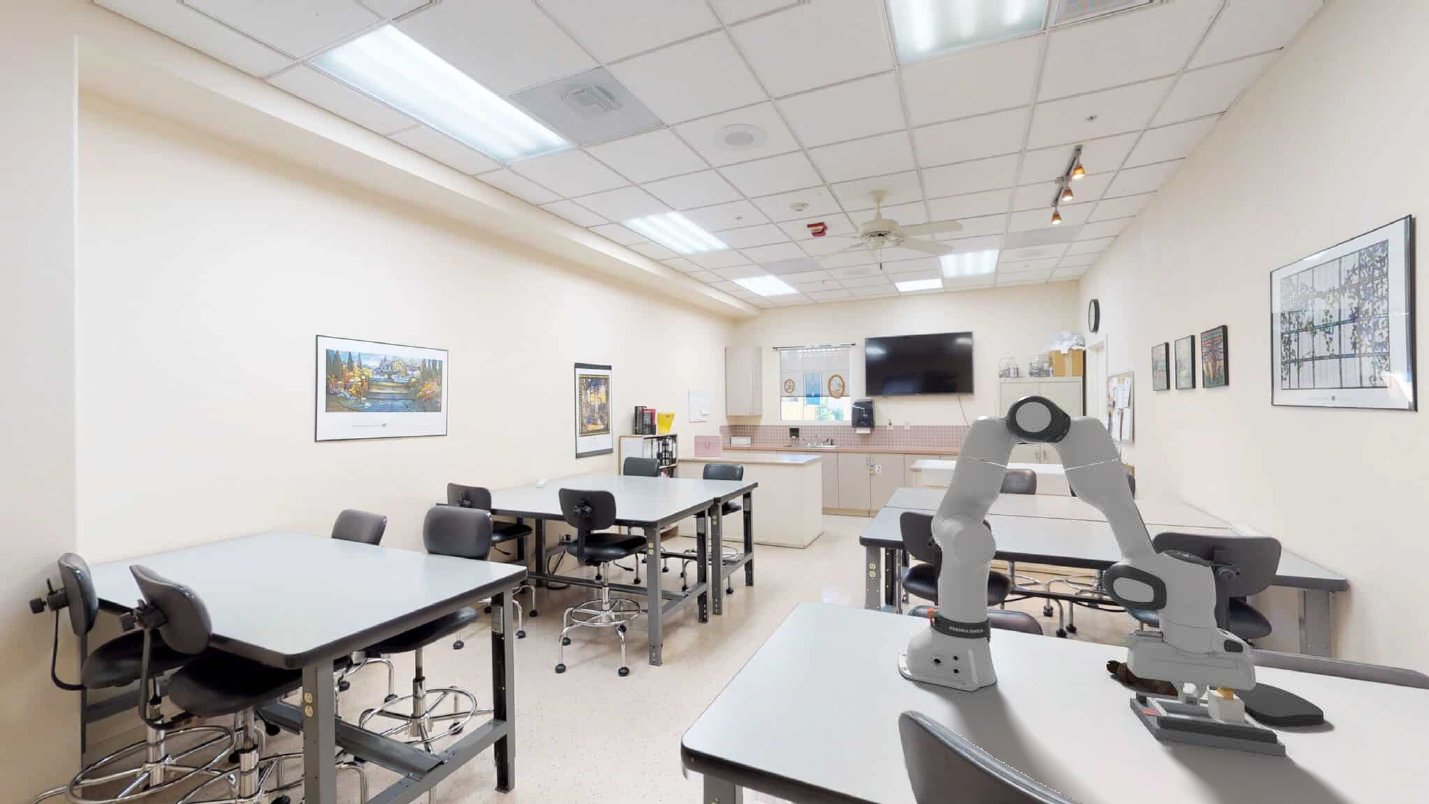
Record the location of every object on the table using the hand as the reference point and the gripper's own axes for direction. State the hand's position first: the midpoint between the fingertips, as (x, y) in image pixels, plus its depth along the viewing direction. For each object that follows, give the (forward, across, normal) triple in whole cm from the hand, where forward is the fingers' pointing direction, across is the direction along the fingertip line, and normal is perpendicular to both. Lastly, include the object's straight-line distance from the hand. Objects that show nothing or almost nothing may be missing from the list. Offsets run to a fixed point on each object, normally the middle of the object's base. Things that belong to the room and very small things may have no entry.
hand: (1189, 703), depth 111 cm
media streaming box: (+5, +19, +14) cm, 24 cm away
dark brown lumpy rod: (+5, -2, +16) cm, 17 cm away
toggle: (+2, +6, 0) cm, 6 cm away
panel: (+5, +2, 0) cm, 5 cm away
